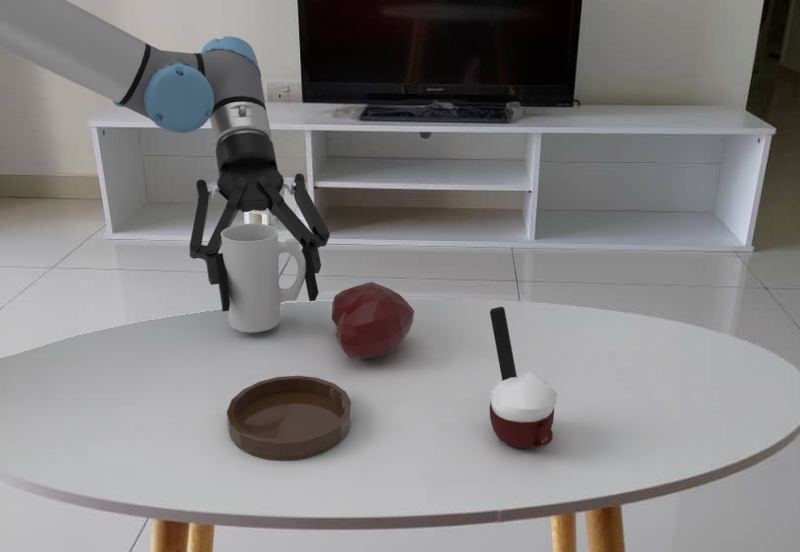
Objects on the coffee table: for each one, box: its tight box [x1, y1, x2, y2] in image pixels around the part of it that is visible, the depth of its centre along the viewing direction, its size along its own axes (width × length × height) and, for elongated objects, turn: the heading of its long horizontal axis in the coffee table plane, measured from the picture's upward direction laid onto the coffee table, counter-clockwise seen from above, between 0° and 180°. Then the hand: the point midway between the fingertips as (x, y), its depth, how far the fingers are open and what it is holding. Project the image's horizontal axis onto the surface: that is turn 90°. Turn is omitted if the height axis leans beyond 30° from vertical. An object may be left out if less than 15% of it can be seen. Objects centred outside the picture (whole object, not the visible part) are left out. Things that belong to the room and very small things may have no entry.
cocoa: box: [489, 306, 557, 449], centre depth 72 cm, size 10×6×12 cm, turn 4°
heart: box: [331, 281, 415, 360], centre depth 90 cm, size 12×8×10 cm
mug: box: [221, 223, 306, 333], centre depth 93 cm, size 10×7×12 cm, turn 100°
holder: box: [226, 375, 353, 461], centre depth 75 cm, size 12×12×2 cm
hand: (270, 302), depth 91 cm, fingers closed on mug, 10 cm apart
